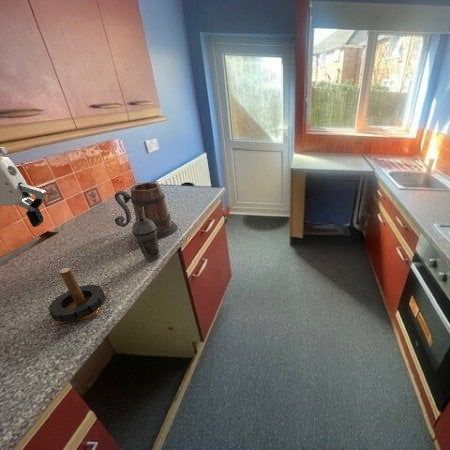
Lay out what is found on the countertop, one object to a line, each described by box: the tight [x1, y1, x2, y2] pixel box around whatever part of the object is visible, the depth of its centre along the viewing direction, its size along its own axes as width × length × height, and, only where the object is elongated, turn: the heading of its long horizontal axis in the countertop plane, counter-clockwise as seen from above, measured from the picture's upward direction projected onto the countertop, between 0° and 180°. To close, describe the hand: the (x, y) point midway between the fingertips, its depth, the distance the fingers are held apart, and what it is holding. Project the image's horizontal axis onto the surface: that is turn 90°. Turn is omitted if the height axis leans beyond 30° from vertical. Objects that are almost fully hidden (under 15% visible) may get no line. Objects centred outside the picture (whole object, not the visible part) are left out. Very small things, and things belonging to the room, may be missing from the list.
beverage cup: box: [132, 207, 161, 262], centre depth 86 cm, size 7×7×20 cm
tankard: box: [114, 182, 178, 240], centre depth 103 cm, size 24×17×20 cm
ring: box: [48, 284, 106, 323], centre depth 68 cm, size 11×11×2 cm
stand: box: [53, 267, 109, 325], centre depth 66 cm, size 9×9×13 cm
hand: (12, 226), depth 59 cm, fingers open, 9 cm apart
